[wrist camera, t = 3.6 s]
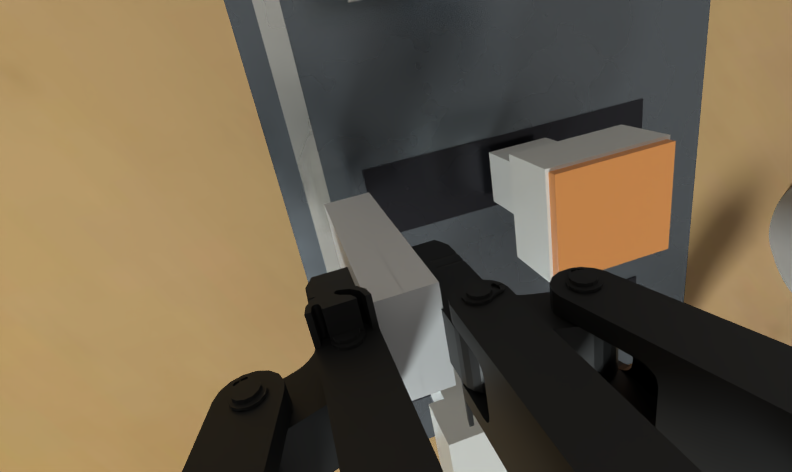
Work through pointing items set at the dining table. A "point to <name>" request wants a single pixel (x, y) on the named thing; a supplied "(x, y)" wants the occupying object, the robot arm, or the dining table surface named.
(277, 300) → the dining table surface
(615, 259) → the block
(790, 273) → the lumpy-topped squat cylinder
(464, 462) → the breaker
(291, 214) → the panel
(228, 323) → the dining table surface
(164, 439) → the dining table surface
